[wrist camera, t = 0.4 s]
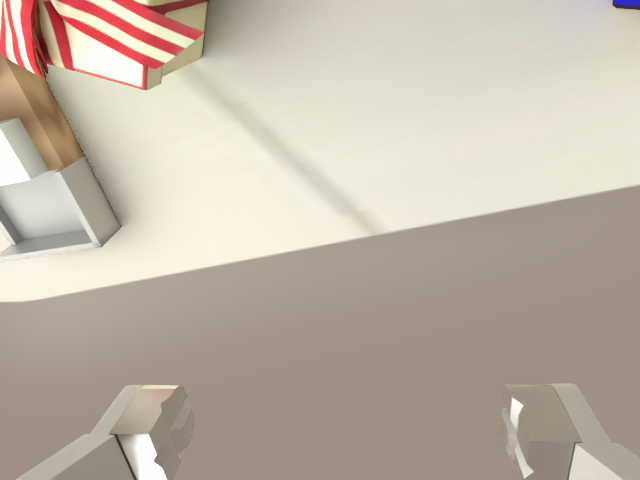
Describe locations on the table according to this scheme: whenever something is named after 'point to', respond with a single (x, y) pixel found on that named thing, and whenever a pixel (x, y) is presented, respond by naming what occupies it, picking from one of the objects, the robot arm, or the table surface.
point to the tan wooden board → (37, 114)
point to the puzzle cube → (627, 4)
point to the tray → (55, 213)
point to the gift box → (104, 37)
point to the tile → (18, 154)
